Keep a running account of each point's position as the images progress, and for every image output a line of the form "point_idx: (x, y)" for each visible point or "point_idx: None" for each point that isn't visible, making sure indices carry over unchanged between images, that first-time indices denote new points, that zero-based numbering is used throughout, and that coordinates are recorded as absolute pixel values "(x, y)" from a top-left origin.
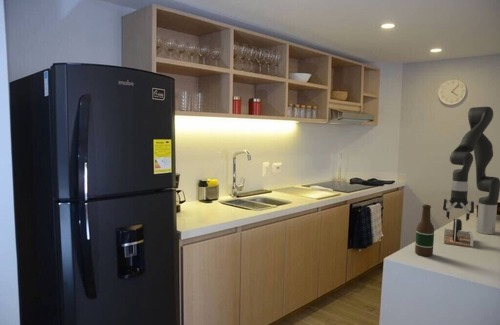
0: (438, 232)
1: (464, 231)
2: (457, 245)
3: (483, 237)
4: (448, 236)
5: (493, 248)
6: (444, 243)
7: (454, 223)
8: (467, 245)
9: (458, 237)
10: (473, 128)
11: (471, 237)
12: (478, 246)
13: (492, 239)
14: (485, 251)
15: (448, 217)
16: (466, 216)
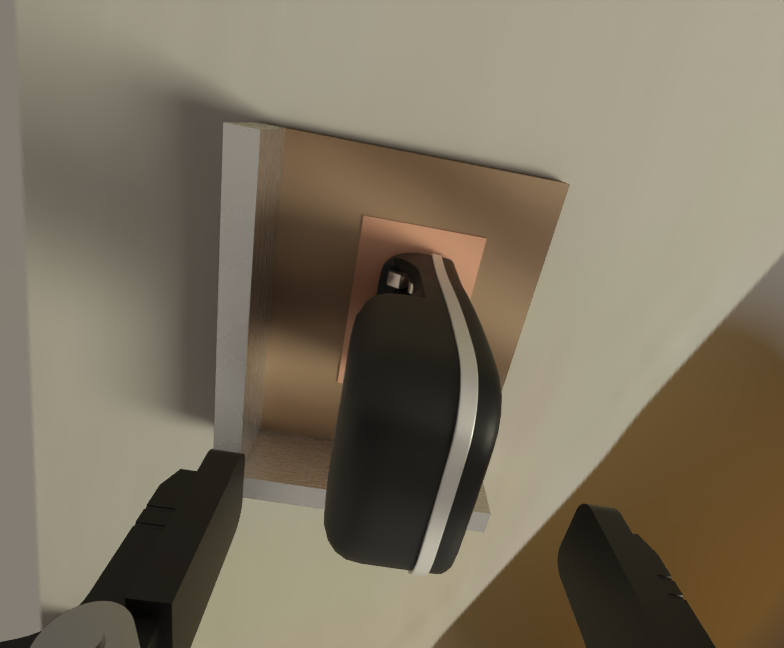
0: (488, 558)
1: (286, 484)
2: (422, 154)
3: None
4: None
5: (43, 194)
6: (559, 181)
7: (488, 361)
8: (314, 136)
9: None
10: None
11: (238, 232)
12: (192, 215)
13: (59, 502)
14: (128, 6)
15: (612, 518)
16: (205, 526)
